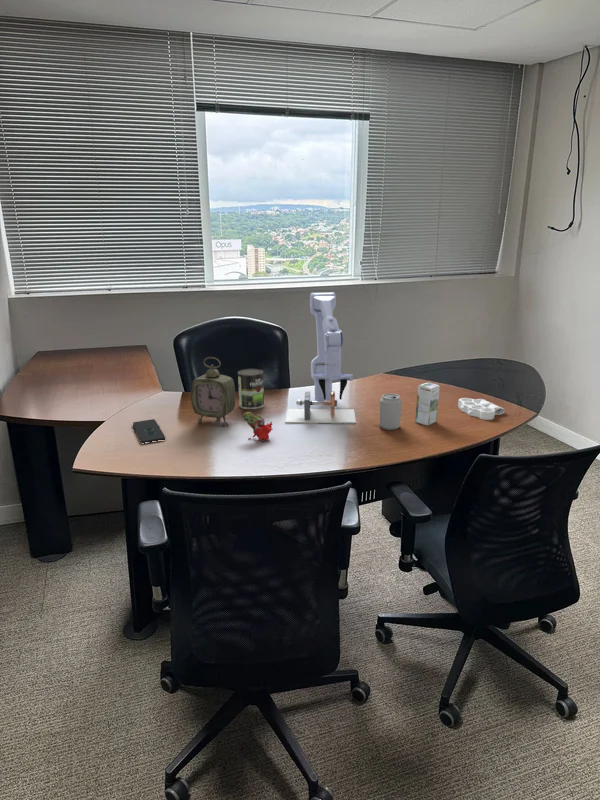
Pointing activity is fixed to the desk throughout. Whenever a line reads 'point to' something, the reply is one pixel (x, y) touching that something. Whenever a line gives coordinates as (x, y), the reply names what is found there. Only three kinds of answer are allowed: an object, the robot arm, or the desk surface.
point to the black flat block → (148, 431)
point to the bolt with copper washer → (323, 403)
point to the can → (390, 411)
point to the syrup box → (427, 403)
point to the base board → (321, 416)
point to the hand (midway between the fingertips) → (332, 398)
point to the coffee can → (251, 388)
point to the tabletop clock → (213, 394)
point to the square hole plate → (307, 406)
